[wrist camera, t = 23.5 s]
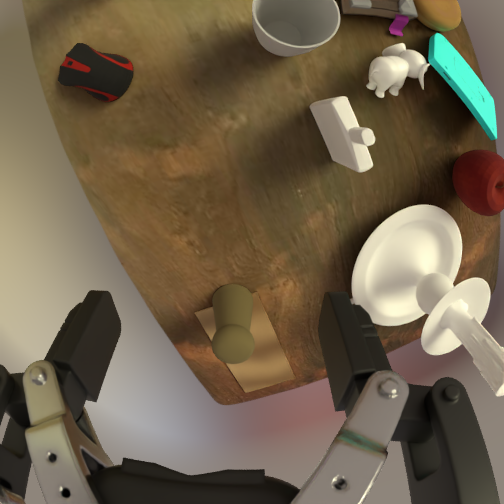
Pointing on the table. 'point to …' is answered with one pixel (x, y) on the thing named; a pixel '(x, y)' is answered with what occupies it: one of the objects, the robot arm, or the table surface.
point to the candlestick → (427, 287)
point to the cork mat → (255, 350)
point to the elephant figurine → (395, 69)
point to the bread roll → (438, 14)
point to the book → (383, 11)
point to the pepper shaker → (233, 324)
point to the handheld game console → (463, 82)
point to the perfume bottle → (343, 133)
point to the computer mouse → (96, 72)
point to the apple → (480, 181)
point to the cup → (294, 24)
